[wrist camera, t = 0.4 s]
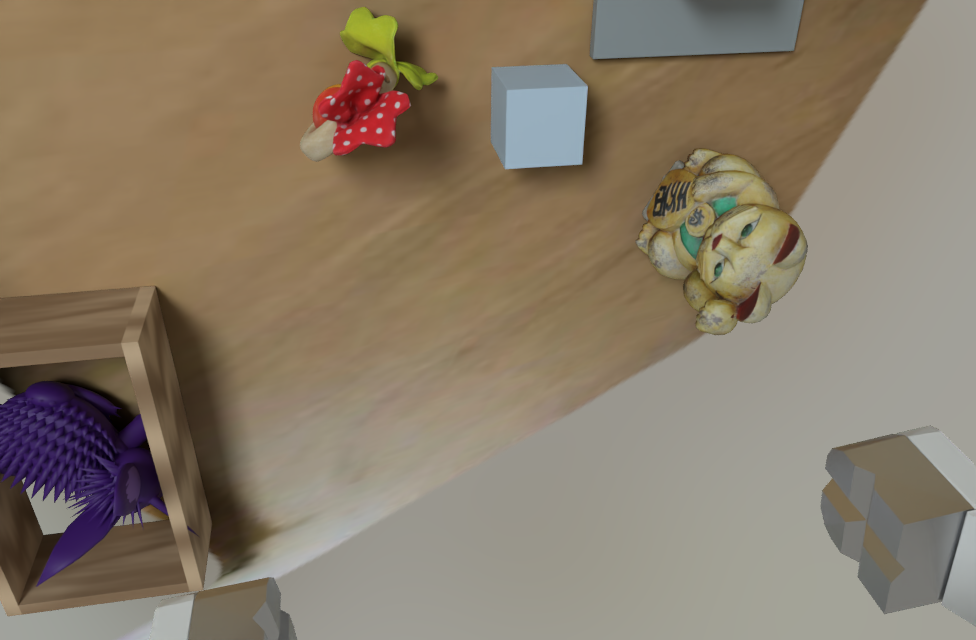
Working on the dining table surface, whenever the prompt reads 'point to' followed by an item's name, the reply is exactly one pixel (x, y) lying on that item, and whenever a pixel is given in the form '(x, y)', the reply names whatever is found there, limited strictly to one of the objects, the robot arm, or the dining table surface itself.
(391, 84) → the bird rattle
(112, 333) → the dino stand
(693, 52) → the plate
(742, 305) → the decorative figurine
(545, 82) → the blue brick
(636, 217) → the dining table surface
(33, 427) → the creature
